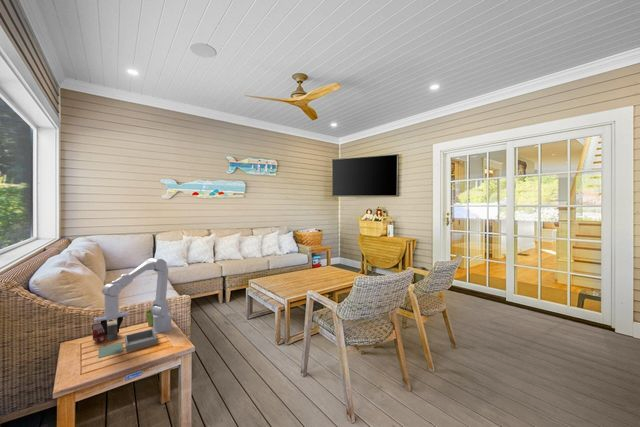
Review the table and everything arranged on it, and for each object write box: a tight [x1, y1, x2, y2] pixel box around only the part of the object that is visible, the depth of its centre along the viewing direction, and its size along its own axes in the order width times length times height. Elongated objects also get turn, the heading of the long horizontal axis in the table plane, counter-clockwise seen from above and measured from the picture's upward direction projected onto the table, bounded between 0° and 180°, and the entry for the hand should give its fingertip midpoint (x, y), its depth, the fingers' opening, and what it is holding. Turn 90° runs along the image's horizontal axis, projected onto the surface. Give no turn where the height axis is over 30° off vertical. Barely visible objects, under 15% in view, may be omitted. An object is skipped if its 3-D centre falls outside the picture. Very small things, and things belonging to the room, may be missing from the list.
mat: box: [97, 341, 124, 359], centre depth 143 cm, size 10×12×1 cm
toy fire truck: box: [90, 319, 120, 344], centre depth 155 cm, size 7×12×10 cm, turn 142°
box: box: [106, 319, 118, 342], centre depth 143 cm, size 4×9×7 cm, turn 38°
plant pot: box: [144, 308, 153, 327], centre depth 175 cm, size 9×9×9 cm
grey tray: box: [124, 328, 158, 353], centre depth 151 cm, size 14×23×4 cm, turn 38°
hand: (112, 333), depth 143 cm, fingers closed on box, 4 cm apart
